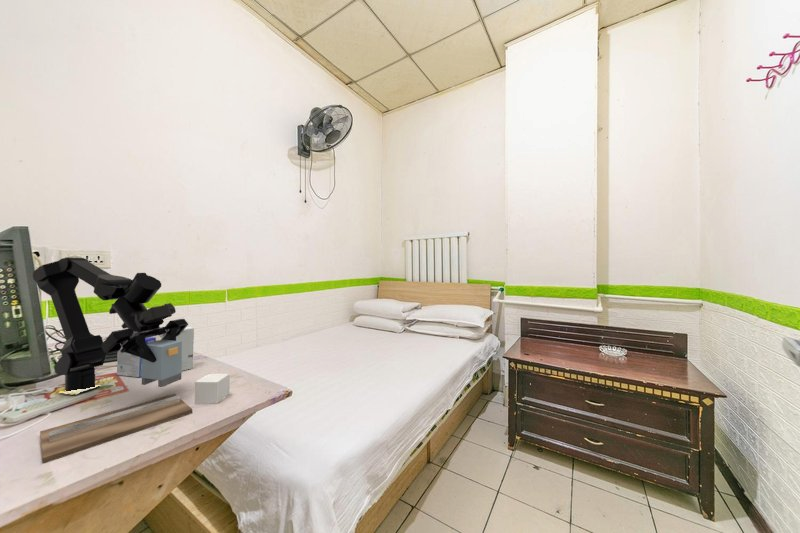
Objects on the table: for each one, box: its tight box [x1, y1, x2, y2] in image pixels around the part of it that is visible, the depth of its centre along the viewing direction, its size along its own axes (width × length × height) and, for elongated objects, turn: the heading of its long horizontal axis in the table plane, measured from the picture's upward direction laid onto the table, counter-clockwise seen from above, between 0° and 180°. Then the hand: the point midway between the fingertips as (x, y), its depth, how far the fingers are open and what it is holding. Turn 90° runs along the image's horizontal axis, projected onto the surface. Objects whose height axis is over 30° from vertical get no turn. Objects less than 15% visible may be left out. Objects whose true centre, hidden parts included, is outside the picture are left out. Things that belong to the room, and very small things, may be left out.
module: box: [141, 339, 183, 388], centre depth 79 cm, size 7×6×10 cm
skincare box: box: [176, 325, 195, 372], centre depth 103 cm, size 8×6×15 cm
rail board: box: [39, 393, 193, 464], centre depth 69 cm, size 14×24×2 cm, turn 142°
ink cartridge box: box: [116, 336, 157, 378], centre depth 99 cm, size 10×6×14 cm, turn 78°
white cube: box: [194, 373, 231, 405], centre depth 82 cm, size 6×6×6 cm
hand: (166, 357), depth 78 cm, fingers closed on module, 5 cm apart
